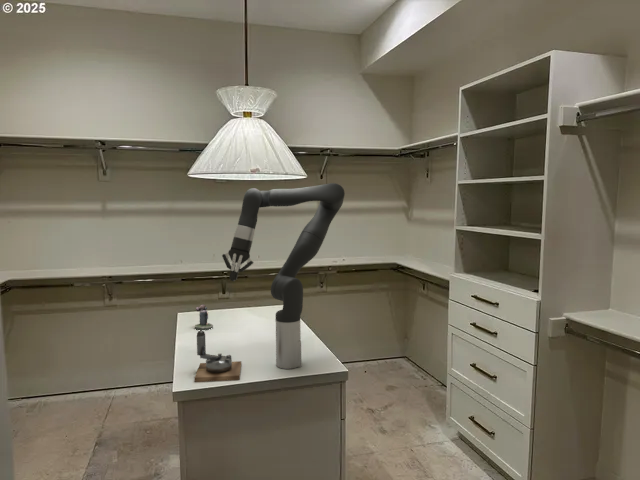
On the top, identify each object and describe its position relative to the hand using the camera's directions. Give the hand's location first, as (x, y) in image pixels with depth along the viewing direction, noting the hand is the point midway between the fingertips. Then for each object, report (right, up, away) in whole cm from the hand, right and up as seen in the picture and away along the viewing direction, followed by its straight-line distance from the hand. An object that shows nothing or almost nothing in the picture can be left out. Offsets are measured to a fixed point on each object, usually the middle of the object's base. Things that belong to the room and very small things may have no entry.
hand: (232, 280), depth 176 cm
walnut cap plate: (-2, -31, -16) cm, 35 cm away
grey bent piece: (-4, -30, -16) cm, 34 cm away
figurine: (-22, -27, +41) cm, 54 cm away
